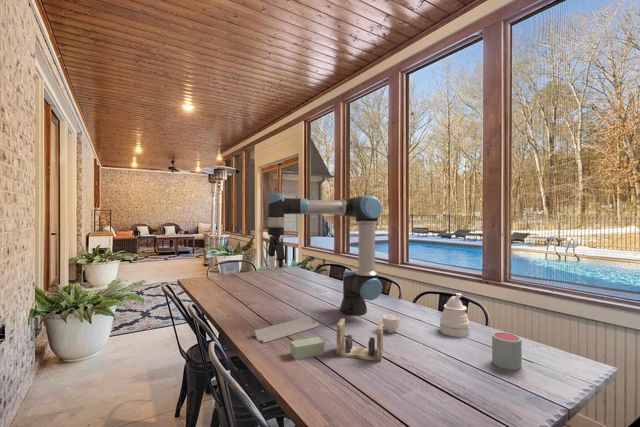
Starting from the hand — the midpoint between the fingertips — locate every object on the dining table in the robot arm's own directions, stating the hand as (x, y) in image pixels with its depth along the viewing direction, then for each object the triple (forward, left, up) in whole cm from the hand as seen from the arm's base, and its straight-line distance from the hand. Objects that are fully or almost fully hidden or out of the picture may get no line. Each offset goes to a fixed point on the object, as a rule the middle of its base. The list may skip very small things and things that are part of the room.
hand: (275, 272), depth 146 cm
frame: (-24, +35, -28) cm, 51 cm away
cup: (-51, +20, -28) cm, 62 cm away
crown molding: (-5, 0, -29) cm, 29 cm away
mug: (-71, +63, -28) cm, 99 cm away
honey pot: (-77, +33, -28) cm, 88 cm away
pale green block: (-5, +27, -28) cm, 39 cm away
